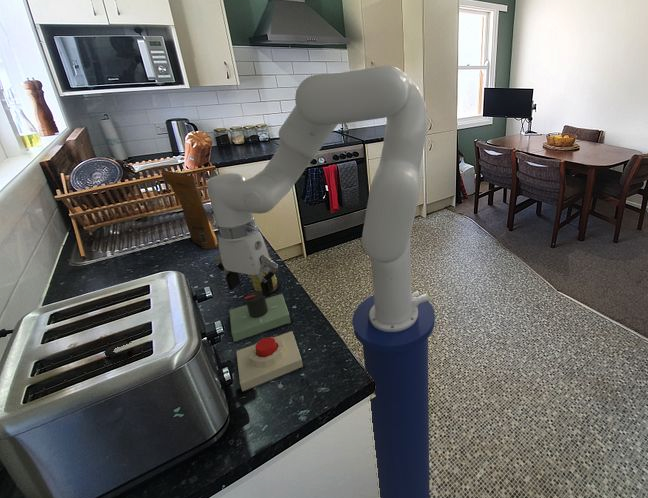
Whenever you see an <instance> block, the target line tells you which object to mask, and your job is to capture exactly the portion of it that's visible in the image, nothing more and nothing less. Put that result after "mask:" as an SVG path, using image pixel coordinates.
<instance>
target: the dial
mask: <svg viewBox="0 0 648 498" xmlns="http://www.w3.org/2000/svg"><path fill="white" fill-rule="evenodd" d="M266 299H267V298H266V296H263V293H262V291H255V290H254V291H251V292H250V293H248V294H247V295H246V296H245V297H244V300H245V305H247V308H248V312H249V315H250V317H252V318H258V317H261V316H263V315H265V314H266V313H267V312H268V307H267V302H266Z"/></svg>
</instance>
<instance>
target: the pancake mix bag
mask: <svg viewBox="0 0 648 498" xmlns="http://www.w3.org/2000/svg"><path fill="white" fill-rule="evenodd" d="M160 174H161V178H163V180H164V181H165V182H166V183H167V184H168V186H169V187H170V189H171V190H172V192H173V193H174V195H175V197H176V198H177V200H178V202H179V204H180V206H181V208H182V209H181V210H182V213H183V216H184V220H185V223H186V226H187V229H188V232H189V235H190V238H191V241H192V243H194V244H196V245H198V246H199V247H201V248H203V249H204V250H212V249H217V248H218V247H217V246H219V243H218V238H217V236H216V234H215V231H214V228H213V227H212V222H211V221H210V218H209V216H208V214H207V211H206V208H205V206H204V204H203V200H202V198H201V195H200V192H199V189H198V186H197V184H196V177H194V176H193V175H191V174H188V173H183V172H178V171H170V170H166V169H163V170H161V172H160Z"/></svg>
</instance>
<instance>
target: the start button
mask: <svg viewBox="0 0 648 498" xmlns="http://www.w3.org/2000/svg"><path fill="white" fill-rule="evenodd" d="M272 337H273V336H270V337H269V336H268V337H264V338H261V339H260V340H258V342H256V343H257V344H256V343H255V344H256V351H257V355H258V356H260V357H267V356H270V355H271V354H273V353H274V352H275V351H276V349H277V345H276V341H275V339H274V338H272Z"/></svg>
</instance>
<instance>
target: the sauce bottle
mask: <svg viewBox="0 0 648 498" xmlns="http://www.w3.org/2000/svg"><path fill="white" fill-rule="evenodd" d="M257 231H259V232H260V230H259V229H258V230H257ZM266 249H267V252H268V256H269V260H271V261H272V258H271V255H270V253H269V248H268V247H267V246H266ZM267 268H268V267H267ZM260 269H261V267H260ZM268 269H269V268H268ZM261 273H262V274H263V275H264V276H266V275H267V274H266V273H265V272H264V271H262V272H261ZM249 277H250V281H251V283H252V286H253V289H254V291H262V289H261V284H260V283H261V282H262V281H261V280H260V279H259V277H258V276H257V275H250V274H249ZM272 283H273V288H274V289H273V290H272V291H271V292H270V293H269V294H272V293H274V292H275V291H277V289H278V279H277V277H276V274H275V275H274V276H273V277H272ZM269 294H268V295H269Z"/></svg>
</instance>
